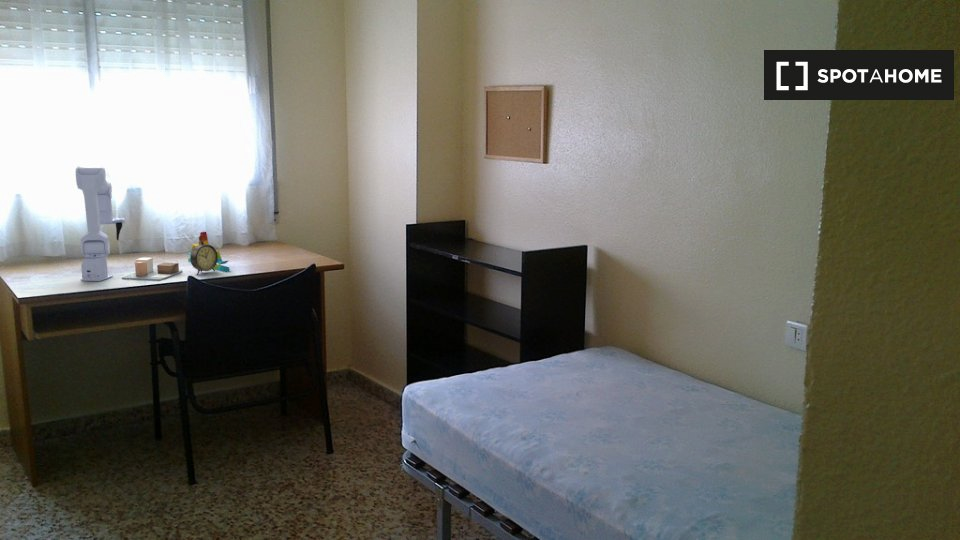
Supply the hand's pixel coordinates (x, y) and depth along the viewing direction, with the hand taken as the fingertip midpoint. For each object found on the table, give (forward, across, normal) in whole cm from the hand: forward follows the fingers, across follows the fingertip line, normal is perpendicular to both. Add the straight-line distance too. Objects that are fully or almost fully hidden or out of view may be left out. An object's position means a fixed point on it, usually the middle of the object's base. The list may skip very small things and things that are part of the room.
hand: (107, 240), depth 336 cm
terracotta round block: (+6, -10, +34) cm, 35 cm away
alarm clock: (+7, -34, +34) cm, 49 cm away
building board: (+7, -14, +32) cm, 35 cm away
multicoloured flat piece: (+10, -38, +20) cm, 44 cm away
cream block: (+7, -12, +26) cm, 30 cm away
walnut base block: (+7, -20, +31) cm, 38 cm away
